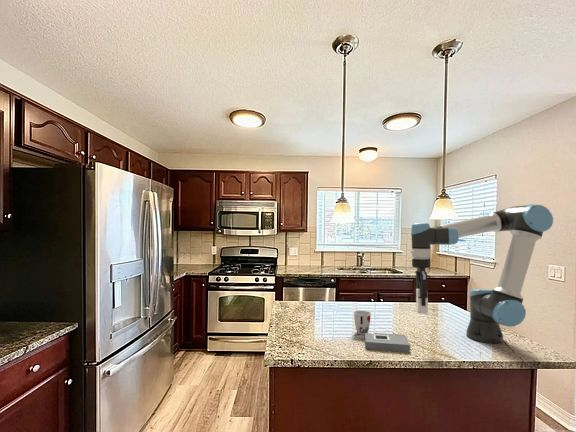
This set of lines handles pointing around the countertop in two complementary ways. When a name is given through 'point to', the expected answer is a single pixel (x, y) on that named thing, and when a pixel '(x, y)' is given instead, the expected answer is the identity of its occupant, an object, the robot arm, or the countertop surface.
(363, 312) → the cup
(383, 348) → the plate
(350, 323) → the countertop surface
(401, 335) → the phone
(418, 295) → the block
